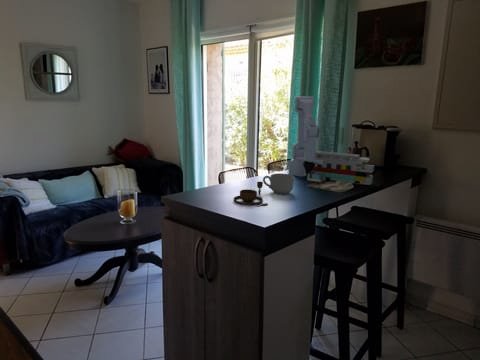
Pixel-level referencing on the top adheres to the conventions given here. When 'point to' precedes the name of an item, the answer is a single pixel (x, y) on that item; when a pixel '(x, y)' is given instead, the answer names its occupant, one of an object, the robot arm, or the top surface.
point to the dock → (333, 186)
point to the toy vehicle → (344, 168)
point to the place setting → (250, 196)
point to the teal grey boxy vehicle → (316, 177)
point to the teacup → (280, 183)
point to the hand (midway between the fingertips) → (308, 176)
